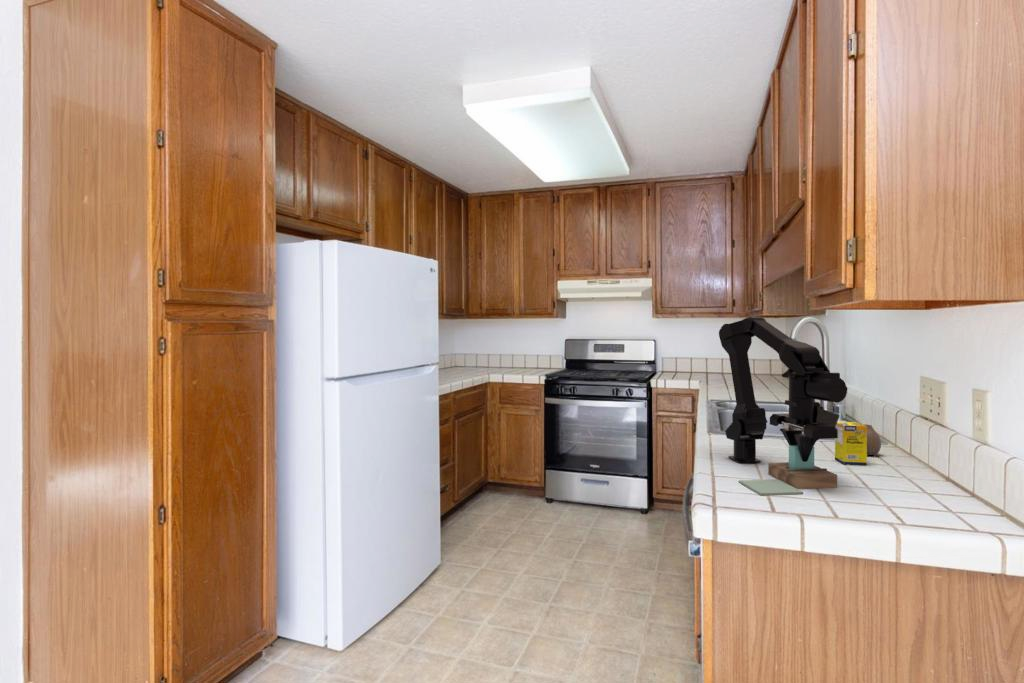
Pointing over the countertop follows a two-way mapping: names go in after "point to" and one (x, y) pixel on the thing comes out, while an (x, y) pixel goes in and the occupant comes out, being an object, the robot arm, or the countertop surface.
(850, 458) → the supplement box
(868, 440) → the vase
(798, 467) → the tall teal box
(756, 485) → the mat
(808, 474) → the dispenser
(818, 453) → the countertop surface
